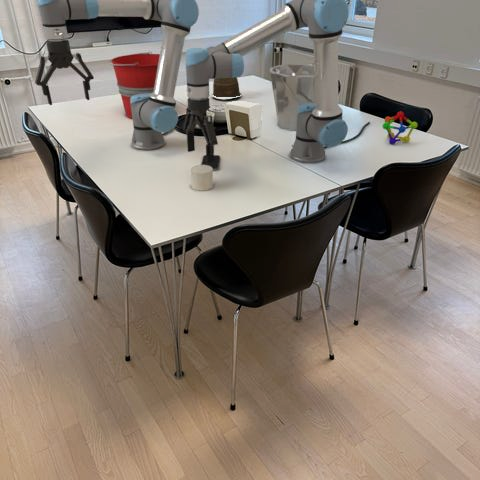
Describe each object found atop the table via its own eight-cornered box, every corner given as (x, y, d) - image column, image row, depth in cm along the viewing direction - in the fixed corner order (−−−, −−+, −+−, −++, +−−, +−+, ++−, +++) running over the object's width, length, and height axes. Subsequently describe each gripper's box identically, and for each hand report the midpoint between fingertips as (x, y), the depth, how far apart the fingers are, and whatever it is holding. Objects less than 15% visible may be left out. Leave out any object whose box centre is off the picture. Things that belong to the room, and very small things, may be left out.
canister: (209, 191, 165) (208, 174, 161) (188, 189, 166) (187, 172, 163) (215, 182, 172) (215, 165, 168) (195, 180, 173) (194, 163, 169)
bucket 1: (125, 104, 265) (117, 50, 249) (183, 105, 264) (179, 51, 248) (108, 122, 236) (99, 62, 220) (174, 123, 235) (169, 63, 219)
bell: (227, 105, 294) (202, 96, 282) (238, 66, 289) (213, 55, 277) (243, 108, 280) (217, 98, 268) (255, 66, 275) (229, 55, 263)
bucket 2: (296, 138, 215) (301, 78, 201) (255, 124, 234) (256, 68, 219) (335, 125, 232) (342, 70, 217) (294, 113, 251) (297, 61, 236)
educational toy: (377, 146, 209) (379, 114, 202) (384, 138, 219) (386, 107, 211) (411, 149, 202) (415, 116, 195) (417, 141, 212) (420, 109, 204)
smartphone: (200, 168, 181) (203, 155, 194) (200, 170, 182) (203, 156, 194) (218, 168, 181) (220, 155, 194) (218, 170, 182) (220, 156, 194)
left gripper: (20, 43, 145) (36, 108, 156) (96, 38, 156) (105, 99, 168) (16, 40, 150) (31, 104, 162) (90, 35, 162) (99, 95, 173)
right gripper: (171, 91, 158) (175, 148, 169) (208, 107, 141) (209, 169, 152) (190, 88, 162) (192, 144, 173) (227, 104, 144) (227, 165, 156)
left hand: (69, 101), depth 165 cm, fingers open, 13 cm apart
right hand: (200, 156), depth 163 cm, fingers open, 13 cm apart
